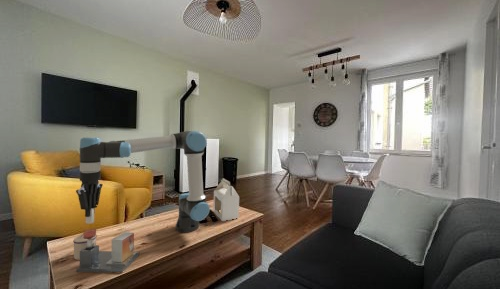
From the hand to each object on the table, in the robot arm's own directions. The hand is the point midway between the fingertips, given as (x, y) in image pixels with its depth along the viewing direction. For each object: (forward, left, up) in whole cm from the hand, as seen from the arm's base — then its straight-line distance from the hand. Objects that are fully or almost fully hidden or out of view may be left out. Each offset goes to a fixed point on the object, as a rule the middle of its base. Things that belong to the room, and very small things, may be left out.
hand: (89, 222), depth 94 cm
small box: (-13, -4, -19) cm, 23 cm away
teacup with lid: (+9, -10, -21) cm, 25 cm away
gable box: (-56, -67, -21) cm, 89 cm away
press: (-8, -3, -20) cm, 22 cm away
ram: (0, 0, -14) cm, 14 cm away
